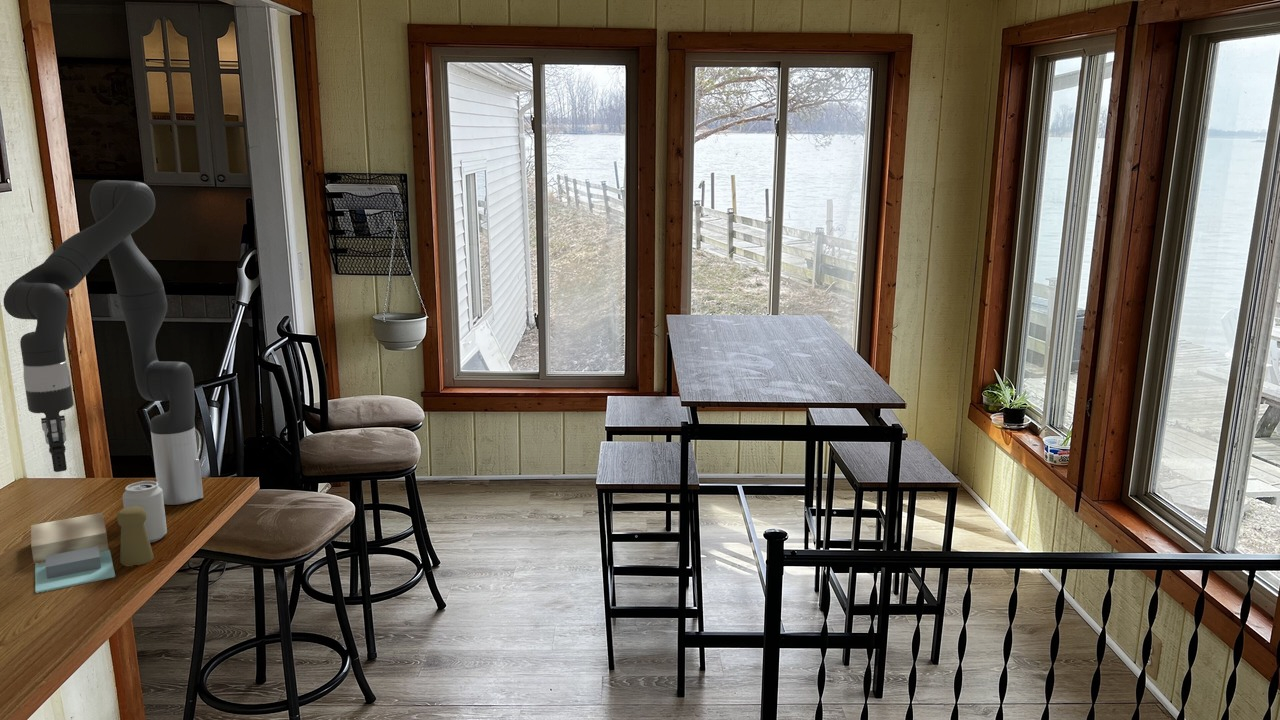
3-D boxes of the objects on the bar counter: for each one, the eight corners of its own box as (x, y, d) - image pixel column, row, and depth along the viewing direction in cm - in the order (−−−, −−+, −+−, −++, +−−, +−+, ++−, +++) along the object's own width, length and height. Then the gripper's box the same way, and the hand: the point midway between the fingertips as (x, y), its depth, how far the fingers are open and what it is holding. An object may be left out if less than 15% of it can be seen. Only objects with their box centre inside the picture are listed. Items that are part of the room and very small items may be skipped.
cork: (139, 567, 184) (133, 515, 182) (112, 564, 185) (106, 513, 183) (160, 555, 190) (154, 504, 187) (134, 552, 191) (128, 502, 189)
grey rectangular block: (99, 556, 182) (101, 568, 183) (98, 546, 187) (99, 557, 188) (45, 567, 178) (47, 578, 178) (45, 556, 183) (47, 567, 183)
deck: (104, 529, 202) (102, 512, 201) (108, 550, 192) (106, 532, 191) (33, 542, 195) (31, 525, 195) (34, 565, 185) (31, 546, 184)
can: (175, 533, 200) (169, 481, 198) (147, 547, 193) (140, 493, 191) (148, 529, 203) (142, 477, 200) (119, 542, 196) (112, 488, 193)
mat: (110, 551, 191) (109, 549, 191) (115, 576, 180) (115, 575, 180) (35, 566, 184) (35, 564, 184) (35, 593, 173) (35, 591, 173)
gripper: (72, 390, 176) (84, 476, 180) (69, 375, 187) (80, 457, 191) (25, 395, 172) (38, 484, 176) (25, 380, 183) (37, 464, 187)
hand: (60, 470), depth 183 cm, fingers closed
